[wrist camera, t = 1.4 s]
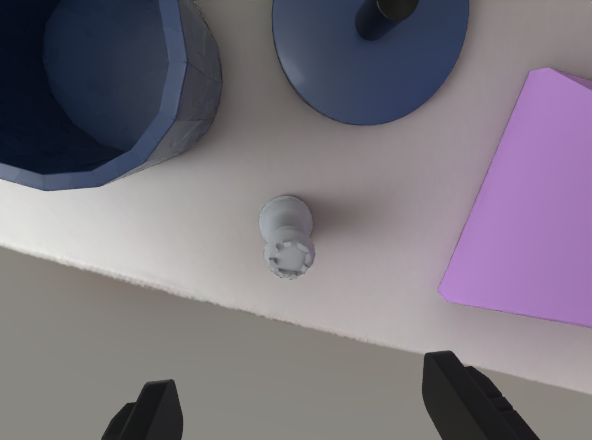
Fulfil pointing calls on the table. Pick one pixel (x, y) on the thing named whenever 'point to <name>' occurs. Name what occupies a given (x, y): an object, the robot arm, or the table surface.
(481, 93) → the table surface
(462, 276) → the purple table lamp
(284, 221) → the rook chess piece
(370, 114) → the lid
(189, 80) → the pot
